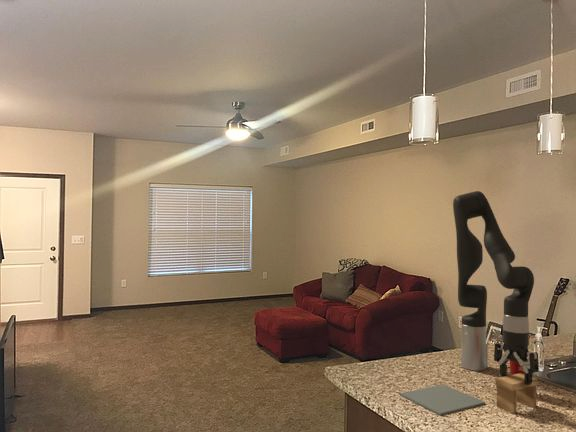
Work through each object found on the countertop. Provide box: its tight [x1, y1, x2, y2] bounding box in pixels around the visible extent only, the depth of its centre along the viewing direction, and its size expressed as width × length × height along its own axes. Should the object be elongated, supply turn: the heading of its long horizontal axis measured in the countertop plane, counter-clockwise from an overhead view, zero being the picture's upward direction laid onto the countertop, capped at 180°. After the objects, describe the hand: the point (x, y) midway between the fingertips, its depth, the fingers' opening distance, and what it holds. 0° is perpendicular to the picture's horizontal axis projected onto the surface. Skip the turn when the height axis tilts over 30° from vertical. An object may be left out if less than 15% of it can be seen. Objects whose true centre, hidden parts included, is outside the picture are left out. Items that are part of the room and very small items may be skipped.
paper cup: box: [509, 350, 531, 376], centre depth 160 cm, size 8×8×14 cm
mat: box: [399, 384, 486, 416], centre depth 152 cm, size 20×18×1 cm
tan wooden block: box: [495, 373, 539, 415], centre depth 146 cm, size 12×6×9 cm, turn 117°
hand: (515, 380), depth 146 cm, fingers open, 8 cm apart
